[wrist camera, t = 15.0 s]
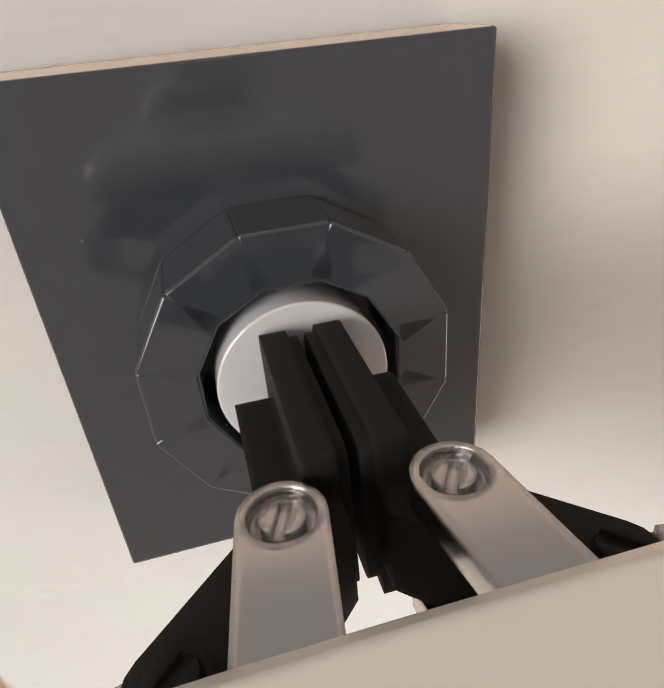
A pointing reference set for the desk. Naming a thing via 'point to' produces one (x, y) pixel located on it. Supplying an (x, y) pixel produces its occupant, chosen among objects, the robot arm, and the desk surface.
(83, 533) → the desk surface
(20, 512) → the desk surface
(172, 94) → the grey button base
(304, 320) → the white push button
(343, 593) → the robot arm
